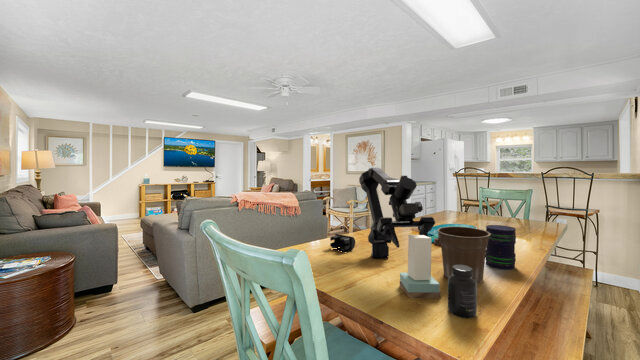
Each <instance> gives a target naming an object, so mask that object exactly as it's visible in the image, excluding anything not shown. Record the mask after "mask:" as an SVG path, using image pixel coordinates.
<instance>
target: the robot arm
mask: <svg viewBox="0 0 640 360" xmlns="http://www.w3.org/2000/svg"><path fill="white" fill-rule="evenodd" d="M358 181H359V185H360V188H361V189H362V190H363V191H364V192H365V193H366V196H367V201H368V206H369V211H370V215H371V219H372V224H371V226H370V232H369V233H368V236H367V239H368V243H370V244H371V253H370V254H371V258H372V259H379V260H384V259H385V260H387V259H389V256H390V255H389V252H390V247H389V245H388V244H391V243H393V244H394V246H395V247H396V248H400V242H399V238H398V236H397V233H396V230H395V228H417V230H418V231H419V232H418V235H425V236H427V237H429V236H428V234H429V232H431V230H432V229H433V228H434V226H435V225H436V221H435V218H434V217H433V216H421V217H420V219H419V220H416V215H417V214H418V213H421V212H423V210H424V209H423V204H422V202H421V201H415V202H408V201H407V200H410V199H411V197H412V195H413V193H414V192H415V190H416V188H417V181H415V180H414V179H413V178H410V177H409V176H408V175H400V178H399V179H398V178H393V177H390V175H388V174H387V173H386V172H384V170H382V168H380V167H369V168H368V170H367V171H364V172H362V173H361V175H360V176H359V180H358ZM379 185H380V186H381V187H380V188H381V189H380V190H381V192H382V193H383V195H385V196H390V197H389V200H388V205H389V206H391V209H392V217H387V216H385V217H384V214H383V211H382V205H381V202H380V199H379V194H378V191H377V190H378V186H379ZM393 218H394V219H395V220H393ZM414 219H415V220H414Z"/></svg>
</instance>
